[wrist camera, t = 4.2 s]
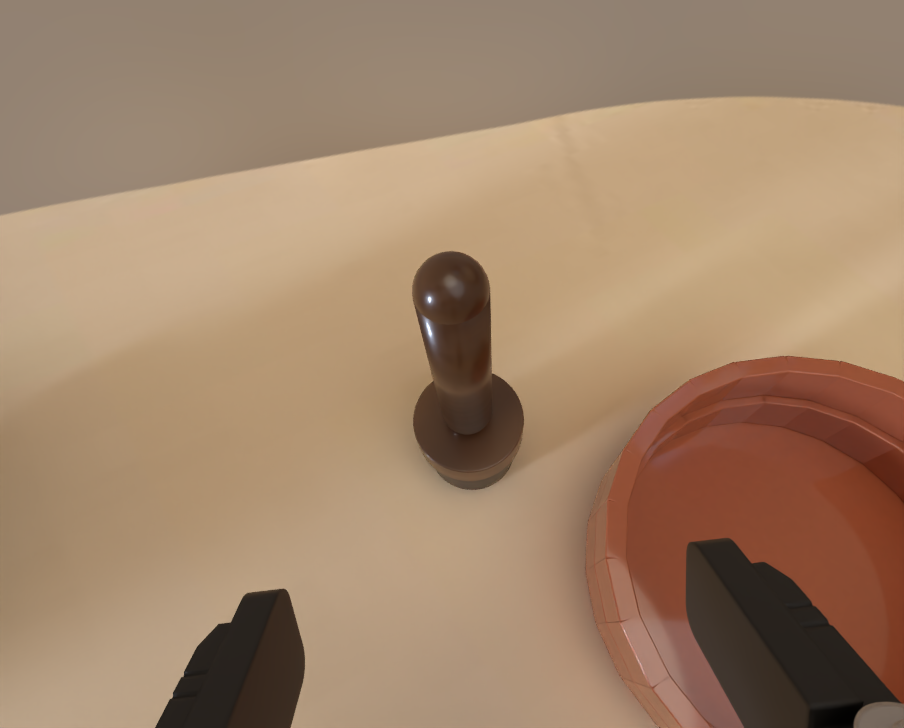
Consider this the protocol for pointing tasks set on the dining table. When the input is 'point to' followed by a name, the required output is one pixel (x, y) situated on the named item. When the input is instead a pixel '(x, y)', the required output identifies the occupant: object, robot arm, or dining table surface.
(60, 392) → the dining table surface
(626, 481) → the basin
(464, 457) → the tamper
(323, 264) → the dining table surface
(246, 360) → the dining table surface
